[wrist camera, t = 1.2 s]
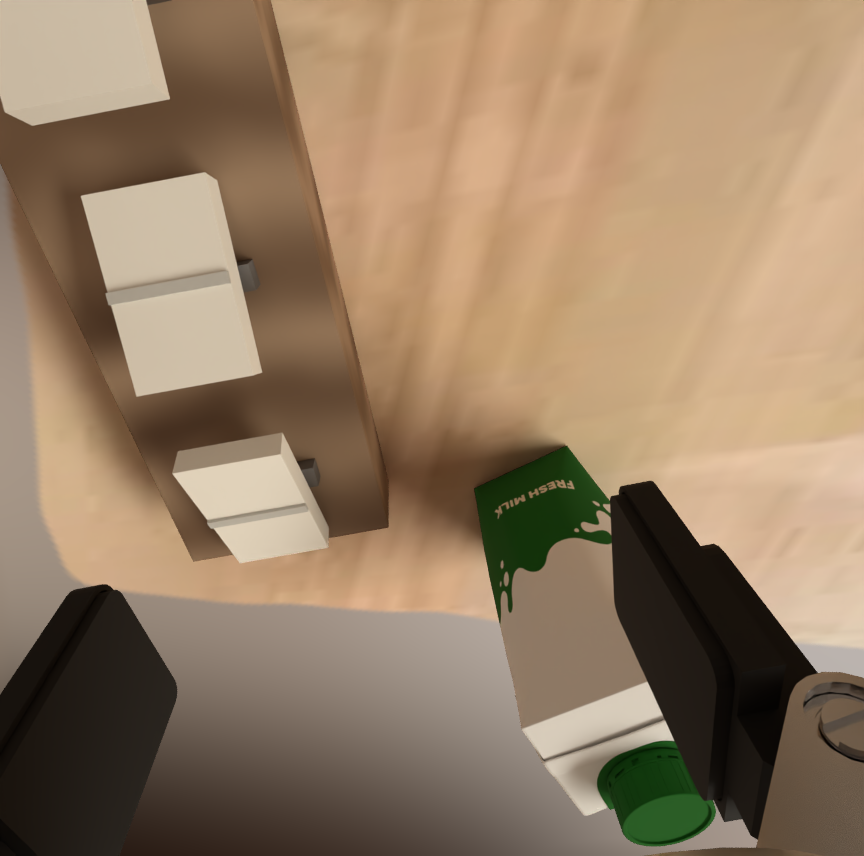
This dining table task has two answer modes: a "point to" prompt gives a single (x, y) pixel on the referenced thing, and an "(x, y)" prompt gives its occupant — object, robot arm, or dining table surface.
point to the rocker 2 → (173, 283)
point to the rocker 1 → (77, 58)
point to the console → (254, 252)
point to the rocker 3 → (253, 497)
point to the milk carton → (580, 653)
